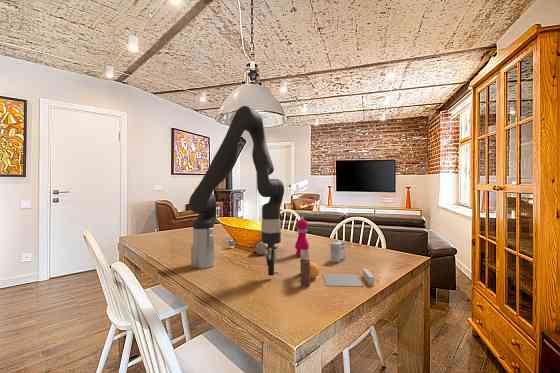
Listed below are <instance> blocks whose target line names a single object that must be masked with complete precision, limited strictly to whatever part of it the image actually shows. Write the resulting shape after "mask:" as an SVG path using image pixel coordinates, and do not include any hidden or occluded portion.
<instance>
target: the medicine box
mask: <svg viewBox="0 0 560 373" xmlns="http://www.w3.org/2000/svg"><path fill="white" fill-rule="evenodd" d="M345 245H346V243H345V241H334V242H332V243H330V262H331V263H336V264H337V263H338V264H340V263H342V262H343V261H344V260H345V259H346V255H345V254H346V246H345Z"/></svg>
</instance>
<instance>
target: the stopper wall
mask: <svg viewBox="0 0 560 373" xmlns="http://www.w3.org/2000/svg"><path fill="white" fill-rule="evenodd" d="M362 278H363V279H364V280H365V282H366V283H367V284H368V285H369V286H375V277H374V275H373V274H372V273H371V272H370V271H369V270H368V269H367V268H362Z"/></svg>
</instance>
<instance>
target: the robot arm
mask: <svg viewBox="0 0 560 373" xmlns="http://www.w3.org/2000/svg"><path fill="white" fill-rule="evenodd" d="M245 131H246V132H247V133H249V135H250V138H251V141H252V151H251V152H252V153H251V156H252V161H253V164H254V168H255V171H256V189H257V193H258V194H259V195H260V196H262V198H269V200H268V202H267V203H264V204H263V205H262V207H261V224H260V225H261V227H260V228H261V232H260V233H261V235H260V236H261V239H260V241H261V242H262V243H264V244H267V245H268V246H267V247H266V254H265V257H266V266H267V274H268V275H267V276H269V277H271V276H272V277H273V276H274V274H275V263H276V262H275V261H276V256H277V249H276V247H277V246H275V245H279V244H280V243H281V242H282V238H281V237H282V235H281V234H282V224H281V223H282V222H281V206H282V203H283V199H284V195H285V186H284V185H285V184H284V183H283V181H282V180H281V179H278V178H270V177H269V176H270V175H272V174H273V172H274V171H275V168H274V164H273V162H272V159H271V155H270V152H269V149H268V146H267V145H268V144H267V140H266V134H265V128H264V121H263V117H262V115H261V114H260V113H259V112H258V111H257V110H255V109H253V108H251V107H249V106H248V105H242V106H240V107H239V108H238V109H237V110H236V111H235V113H234V114H233V117H232V119H231V123H230V124H229V126H228V129H227V131H226V134H225V137H224V138H223V140H222V142H221V144H220V147H219V148H218V149H217V151H216V153H215V155H214V157H213V158H212V160H211V163H210V164H209V166H208V168H207V170H206V172H205V173H204V175H203V177H202V179H201V181H200V182H199V184H198V185H197V186H196V188H195V190H194V191H193V192H192V193H191V195H190V197H189V200H188V206H189V210H190V211H191V212H193V213H194V214H198V215H197V218H196V219H195V220H193V222H192V245H191V246H190V268H195V269H208V268H211V267H214V266H215V222H216V220H217V200H216V197H215V195H214V194H213V193H214V191H215V189H216V188H217V187H218V186H219V185H221V183H222V182H224V181H225V180H226V178H228V176H229V175H230V174H231V172H232V171H233V169H234V167H235V165H236V164H237V162H238V158H239V157H238V156H239V154H238V153H239V143H240V139H241V137H242V135H243V134H244V132H245Z"/></svg>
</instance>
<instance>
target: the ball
mask: <svg viewBox="0 0 560 373" xmlns="http://www.w3.org/2000/svg"><path fill="white" fill-rule="evenodd" d="M319 274H320V268H319V266H318V264H316V263H314V262H310V279H316V278H317V277H318V276H319Z"/></svg>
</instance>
